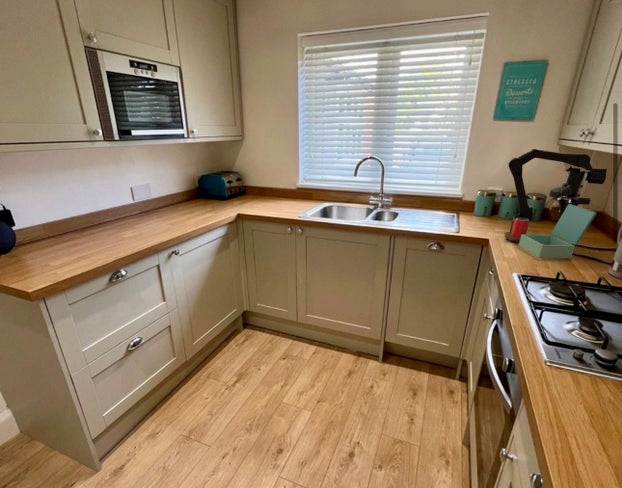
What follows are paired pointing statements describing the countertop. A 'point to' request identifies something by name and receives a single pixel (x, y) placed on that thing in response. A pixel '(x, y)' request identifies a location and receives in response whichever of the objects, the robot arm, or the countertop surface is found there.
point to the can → (520, 227)
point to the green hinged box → (546, 246)
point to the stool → (512, 237)
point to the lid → (573, 223)
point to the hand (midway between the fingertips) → (563, 215)
